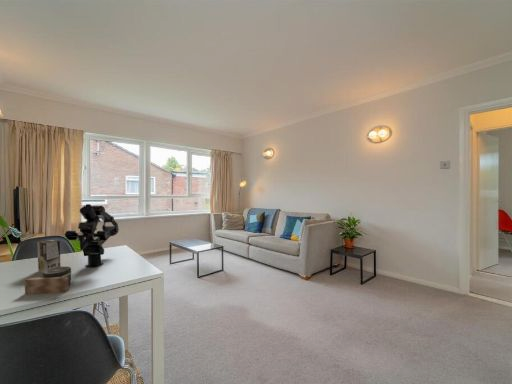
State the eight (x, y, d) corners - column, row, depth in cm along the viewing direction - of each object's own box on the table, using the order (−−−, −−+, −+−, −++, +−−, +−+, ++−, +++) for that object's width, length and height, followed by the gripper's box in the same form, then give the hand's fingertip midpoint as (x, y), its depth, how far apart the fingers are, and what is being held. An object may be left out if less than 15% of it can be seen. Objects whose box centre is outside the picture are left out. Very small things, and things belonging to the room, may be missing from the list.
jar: (74, 285, 109) (74, 268, 109) (46, 293, 101) (45, 275, 101) (67, 280, 115) (67, 264, 115) (40, 287, 107) (39, 270, 107)
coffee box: (61, 269, 129) (60, 240, 129) (46, 273, 124) (46, 243, 123) (52, 267, 133) (51, 239, 133) (37, 271, 127) (36, 241, 127)
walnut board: (25, 293, 100) (24, 279, 100) (29, 291, 102) (28, 278, 102) (65, 292, 102) (65, 278, 102) (68, 290, 104) (68, 276, 104)
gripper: (66, 215, 125) (54, 241, 115) (106, 216, 130) (97, 241, 120) (73, 227, 133) (62, 252, 123) (111, 227, 138) (103, 252, 128)
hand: (81, 249), depth 123 cm, fingers closed
